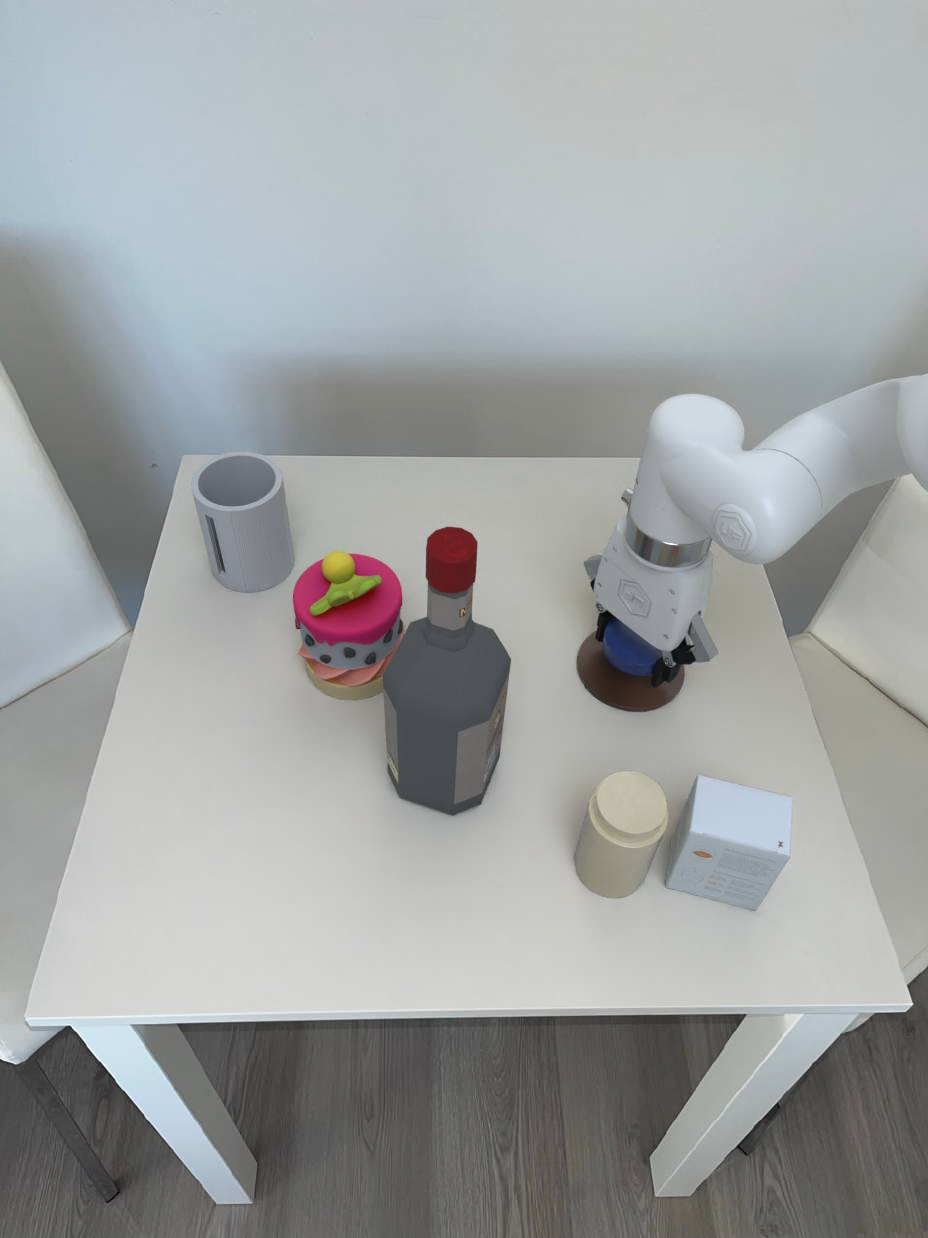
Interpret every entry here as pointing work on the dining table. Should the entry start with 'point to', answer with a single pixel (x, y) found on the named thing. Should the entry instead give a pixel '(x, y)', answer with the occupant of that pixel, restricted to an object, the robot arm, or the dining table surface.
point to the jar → (620, 834)
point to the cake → (348, 623)
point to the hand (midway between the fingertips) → (634, 655)
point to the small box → (730, 842)
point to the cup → (244, 520)
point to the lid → (629, 649)
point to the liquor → (446, 688)
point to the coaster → (622, 681)
